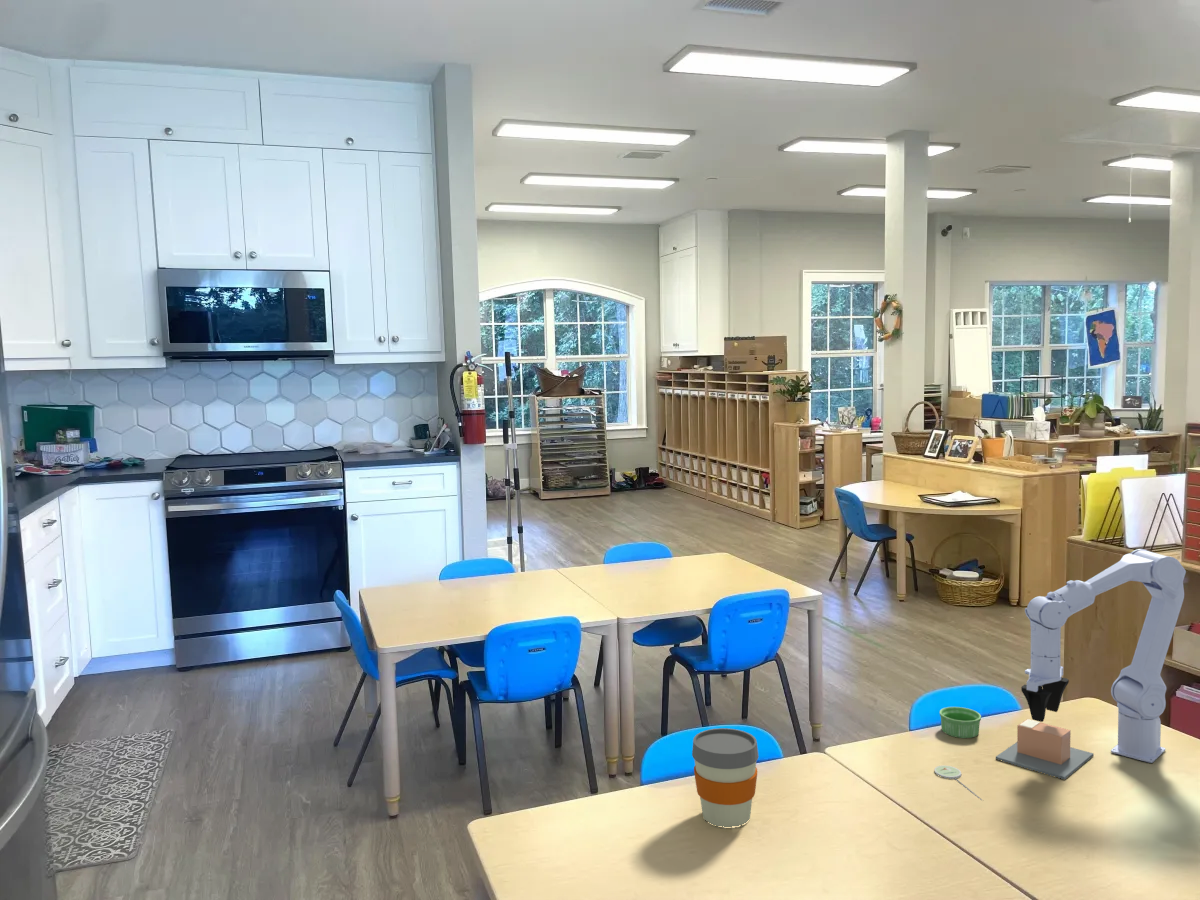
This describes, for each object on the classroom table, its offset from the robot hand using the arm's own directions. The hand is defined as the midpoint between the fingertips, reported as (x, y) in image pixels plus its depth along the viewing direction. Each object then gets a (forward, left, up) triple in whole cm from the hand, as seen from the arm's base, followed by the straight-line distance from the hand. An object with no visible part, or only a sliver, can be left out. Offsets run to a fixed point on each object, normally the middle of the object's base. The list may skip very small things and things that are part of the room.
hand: (1045, 715), depth 187 cm
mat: (0, 0, -9) cm, 9 cm away
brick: (0, 0, -9) cm, 9 cm away
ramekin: (-1, -19, -10) cm, 22 cm away
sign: (+24, -7, -10) cm, 27 cm away
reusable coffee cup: (+68, -32, -10) cm, 76 cm away
